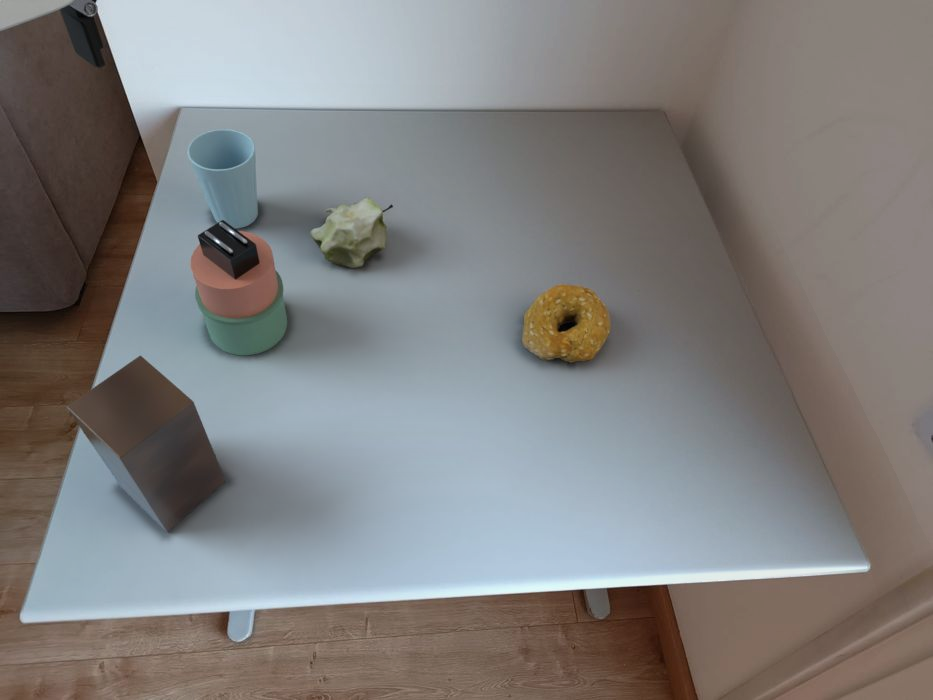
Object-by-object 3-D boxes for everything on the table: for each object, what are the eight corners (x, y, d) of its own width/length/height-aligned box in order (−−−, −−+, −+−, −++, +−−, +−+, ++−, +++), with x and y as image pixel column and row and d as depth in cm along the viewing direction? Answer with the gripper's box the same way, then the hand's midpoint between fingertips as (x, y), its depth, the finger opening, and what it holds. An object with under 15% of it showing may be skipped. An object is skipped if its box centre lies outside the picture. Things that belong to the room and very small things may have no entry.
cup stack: (244, 371, 79) (226, 307, 70) (189, 326, 81) (165, 259, 73) (305, 323, 83) (296, 258, 74) (252, 282, 86) (237, 215, 77)
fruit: (386, 231, 95) (398, 191, 88) (374, 287, 90) (386, 249, 83) (318, 213, 93) (324, 170, 87) (302, 269, 89) (307, 228, 82)
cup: (210, 240, 89) (193, 175, 81) (200, 200, 93) (182, 134, 85) (271, 228, 92) (260, 163, 83) (258, 190, 96) (246, 124, 87)
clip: (235, 280, 72) (229, 257, 69) (202, 254, 73) (196, 231, 71) (260, 263, 74) (255, 240, 71) (227, 239, 75) (221, 215, 72)
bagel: (501, 323, 86) (507, 297, 82) (573, 291, 90) (581, 265, 86) (550, 383, 81) (558, 359, 77) (623, 346, 85) (634, 321, 82)
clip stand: (167, 532, 67) (119, 458, 55) (121, 487, 69) (65, 406, 57) (226, 481, 71) (193, 401, 59) (180, 440, 73) (140, 354, 61)
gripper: (-215, -118, 36) (-52, 154, 50) (91, -186, 45) (159, 62, 59) (-277, -165, 39) (-105, 107, 53) (25, -221, 48) (105, 25, 61)
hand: (35, 83), depth 56 cm, fingers open, 9 cm apart
